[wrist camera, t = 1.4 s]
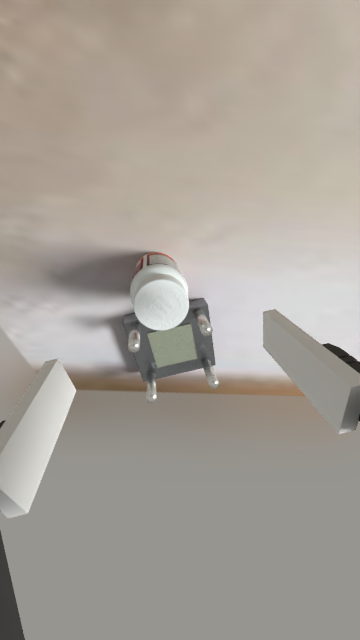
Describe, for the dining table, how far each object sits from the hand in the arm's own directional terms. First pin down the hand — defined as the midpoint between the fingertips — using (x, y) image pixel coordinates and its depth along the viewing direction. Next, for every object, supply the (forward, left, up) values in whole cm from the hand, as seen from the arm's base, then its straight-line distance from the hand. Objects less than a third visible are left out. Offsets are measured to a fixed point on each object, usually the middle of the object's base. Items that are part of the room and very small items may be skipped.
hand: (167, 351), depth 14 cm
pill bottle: (0, 0, -18) cm, 18 cm away
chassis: (+10, 0, -18) cm, 21 cm away
